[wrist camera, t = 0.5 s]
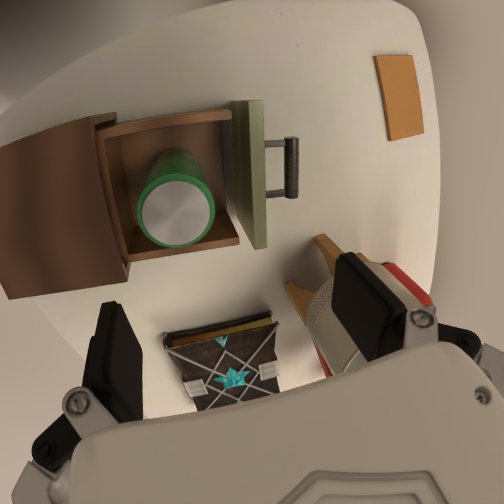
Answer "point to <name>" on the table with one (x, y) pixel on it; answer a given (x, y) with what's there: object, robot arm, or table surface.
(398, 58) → the mat
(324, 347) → the planter
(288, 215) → the table surface
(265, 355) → the book
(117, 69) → the table surface
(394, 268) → the beer can
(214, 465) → the robot arm
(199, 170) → the green can
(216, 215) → the drawer
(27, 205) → the cabinet
